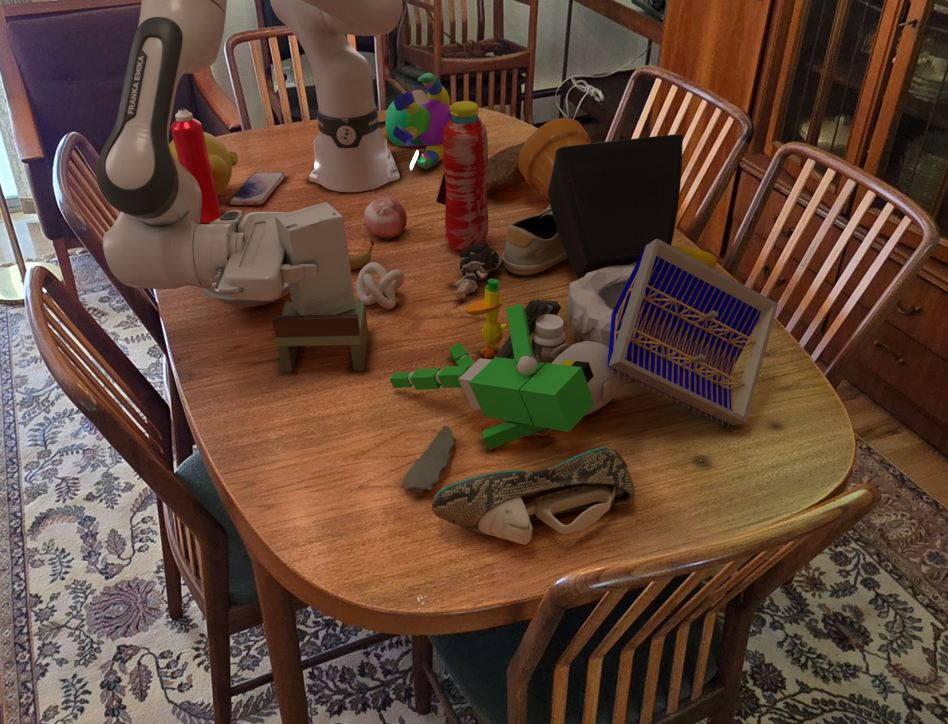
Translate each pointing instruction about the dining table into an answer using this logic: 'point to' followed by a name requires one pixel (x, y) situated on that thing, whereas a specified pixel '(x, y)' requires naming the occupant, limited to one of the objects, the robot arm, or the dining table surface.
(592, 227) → the flower pot
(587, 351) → the toy
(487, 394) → the toy
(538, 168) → the flower pot
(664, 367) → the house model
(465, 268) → the figurine
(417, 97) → the ice cream cone
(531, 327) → the handgun
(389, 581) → the dining table surface
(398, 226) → the onion
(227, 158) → the sculpture
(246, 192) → the smartphone
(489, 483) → the ballet flat
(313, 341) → the shelf
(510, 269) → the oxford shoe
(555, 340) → the pill bottle
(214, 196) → the bottle
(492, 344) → the toy figure
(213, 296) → the dish
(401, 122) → the figurine
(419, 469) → the stone
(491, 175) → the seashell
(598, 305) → the bowl
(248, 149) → the dining table surface
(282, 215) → the cosmetic box
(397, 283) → the knot
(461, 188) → the water bottle
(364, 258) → the banana
